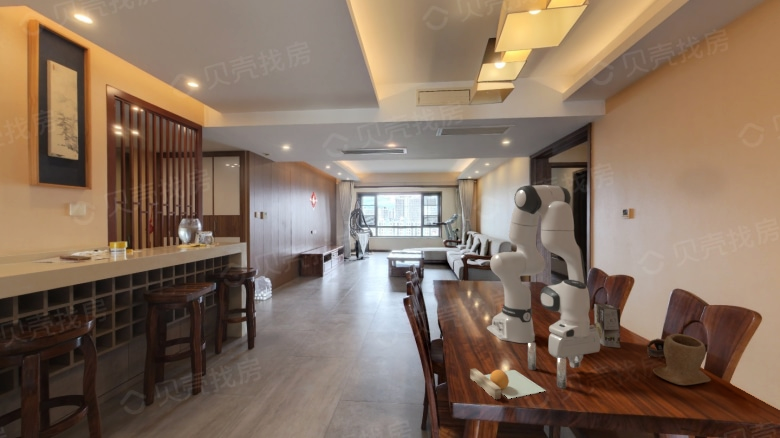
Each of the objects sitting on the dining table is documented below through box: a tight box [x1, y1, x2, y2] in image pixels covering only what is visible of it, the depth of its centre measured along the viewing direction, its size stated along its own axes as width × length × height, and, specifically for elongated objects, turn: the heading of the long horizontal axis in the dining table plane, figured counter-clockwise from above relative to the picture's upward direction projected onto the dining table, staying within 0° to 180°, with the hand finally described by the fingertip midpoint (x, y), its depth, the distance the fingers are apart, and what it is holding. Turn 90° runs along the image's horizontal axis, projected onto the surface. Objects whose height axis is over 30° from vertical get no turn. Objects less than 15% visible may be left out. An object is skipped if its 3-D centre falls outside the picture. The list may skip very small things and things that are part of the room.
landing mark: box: [483, 369, 547, 400], centre depth 98 cm, size 14×14×1 cm
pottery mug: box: [646, 338, 665, 358], centre depth 118 cm, size 12×10×8 cm
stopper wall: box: [469, 368, 502, 400], centre depth 96 cm, size 13×2×3 cm, turn 18°
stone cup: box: [652, 333, 712, 386], centre depth 100 cm, size 15×12×15 cm
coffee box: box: [594, 303, 621, 349], centre depth 132 cm, size 9×6×16 cm
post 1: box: [527, 341, 537, 371], centre depth 109 cm, size 3×3×9 cm
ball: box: [490, 369, 509, 390], centre depth 95 cm, size 6×6×6 cm
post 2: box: [556, 356, 567, 390], centre depth 97 cm, size 3×3×9 cm
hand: (575, 366), depth 107 cm, fingers closed
